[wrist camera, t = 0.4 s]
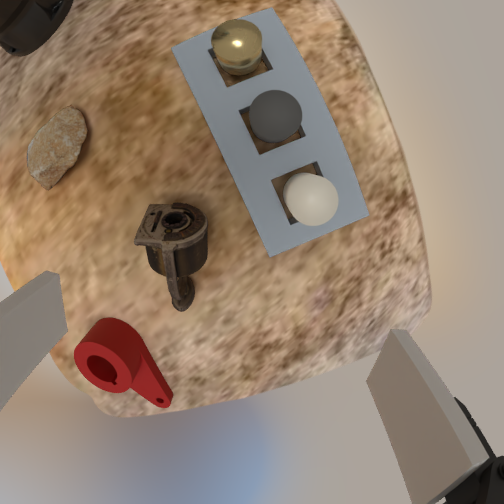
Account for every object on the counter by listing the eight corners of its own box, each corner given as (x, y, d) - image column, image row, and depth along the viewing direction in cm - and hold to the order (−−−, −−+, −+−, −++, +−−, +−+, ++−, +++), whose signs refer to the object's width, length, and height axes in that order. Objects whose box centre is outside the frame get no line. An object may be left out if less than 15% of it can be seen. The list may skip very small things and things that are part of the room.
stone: (39, 149, 31) (16, 148, 27) (81, 102, 28) (57, 95, 24) (51, 197, 32) (27, 199, 27) (96, 151, 29) (70, 148, 24)
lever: (83, 329, 39) (63, 352, 33) (119, 308, 37) (99, 332, 31) (150, 404, 44) (140, 430, 38) (190, 392, 42) (183, 421, 36)
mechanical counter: (210, 187, 32) (191, 199, 22) (234, 288, 36) (227, 333, 26) (153, 201, 32) (115, 218, 23) (180, 297, 36) (159, 341, 27)
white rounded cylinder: (276, 182, 28) (280, 187, 24) (315, 166, 28) (327, 167, 23) (293, 221, 29) (299, 233, 25) (331, 205, 29) (345, 214, 24)
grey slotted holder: (177, 56, 27) (170, 48, 24) (270, 18, 25) (272, 7, 22) (268, 249, 34) (269, 257, 31) (360, 210, 32) (369, 215, 30)
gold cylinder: (211, 49, 24) (203, 30, 19) (250, 33, 23) (249, 13, 18) (228, 81, 25) (222, 67, 20) (268, 65, 24) (270, 48, 20)
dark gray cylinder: (243, 111, 26) (240, 101, 21) (283, 95, 25) (288, 82, 21) (261, 149, 27) (262, 147, 22) (301, 133, 27) (310, 128, 22)
